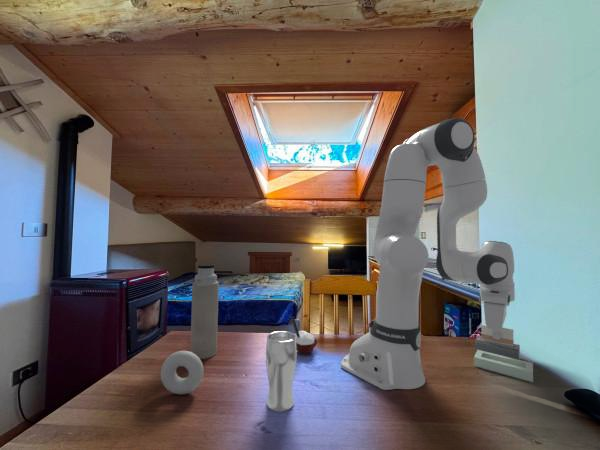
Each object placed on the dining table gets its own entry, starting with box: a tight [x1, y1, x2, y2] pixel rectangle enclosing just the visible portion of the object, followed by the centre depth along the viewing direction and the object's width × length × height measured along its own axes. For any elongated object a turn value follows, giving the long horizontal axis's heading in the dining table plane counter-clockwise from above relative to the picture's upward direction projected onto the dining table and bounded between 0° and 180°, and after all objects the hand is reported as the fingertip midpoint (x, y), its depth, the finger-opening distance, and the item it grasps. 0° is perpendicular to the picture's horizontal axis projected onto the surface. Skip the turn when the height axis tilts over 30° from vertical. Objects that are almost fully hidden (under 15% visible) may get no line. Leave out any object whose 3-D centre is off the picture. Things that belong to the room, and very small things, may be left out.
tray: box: [473, 350, 534, 383], centre depth 77 cm, size 13×7×4 cm, turn 50°
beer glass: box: [265, 330, 298, 413], centre depth 62 cm, size 7×7×15 cm
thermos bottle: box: [189, 263, 220, 360], centre depth 87 cm, size 8×8×28 cm
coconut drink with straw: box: [290, 315, 318, 356], centre depth 88 cm, size 10×6×12 cm, turn 98°
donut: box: [160, 350, 205, 395], centre depth 65 cm, size 10×4×10 cm, turn 90°
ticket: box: [481, 323, 515, 347], centre depth 85 cm, size 8×2×9 cm, turn 50°
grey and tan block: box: [474, 335, 521, 360], centre depth 85 cm, size 11×6×5 cm, turn 50°
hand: (497, 337), depth 85 cm, fingers closed
